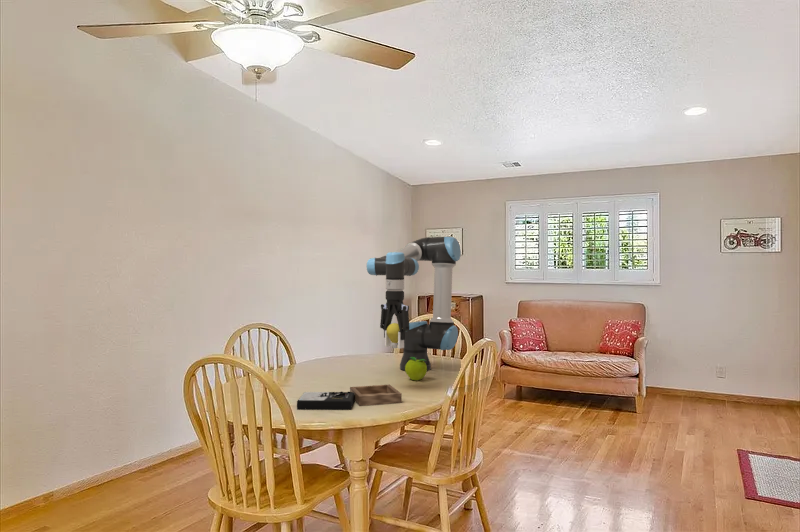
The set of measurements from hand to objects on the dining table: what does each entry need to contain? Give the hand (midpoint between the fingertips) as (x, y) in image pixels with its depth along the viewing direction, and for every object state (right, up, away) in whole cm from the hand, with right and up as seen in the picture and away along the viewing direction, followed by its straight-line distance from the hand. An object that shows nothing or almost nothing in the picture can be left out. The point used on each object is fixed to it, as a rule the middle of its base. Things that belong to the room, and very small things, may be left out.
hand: (394, 347), depth 218 cm
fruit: (+9, -18, +21) cm, 29 cm away
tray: (-7, -18, -14) cm, 23 cm away
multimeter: (-24, -18, -22) cm, 38 cm away
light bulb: (0, 0, 0) cm, 1 cm away
